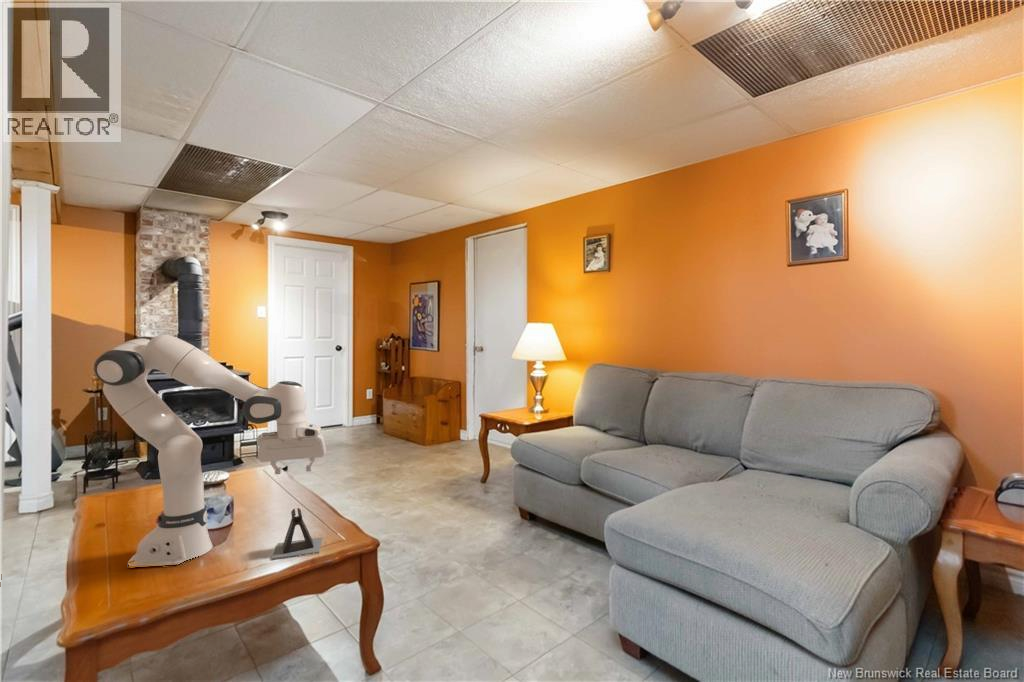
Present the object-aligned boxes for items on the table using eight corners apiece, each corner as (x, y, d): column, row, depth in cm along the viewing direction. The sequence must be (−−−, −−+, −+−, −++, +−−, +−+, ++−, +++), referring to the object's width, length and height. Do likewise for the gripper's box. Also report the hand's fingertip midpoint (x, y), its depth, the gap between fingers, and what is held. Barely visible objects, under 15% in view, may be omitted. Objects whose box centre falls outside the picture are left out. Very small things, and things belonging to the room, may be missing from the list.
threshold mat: (271, 560, 153) (271, 558, 153) (278, 544, 164) (277, 543, 164) (319, 553, 157) (318, 551, 157) (322, 538, 168) (322, 537, 168)
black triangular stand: (283, 554, 156) (281, 517, 156) (282, 546, 161) (281, 510, 161) (313, 547, 160) (311, 511, 159) (312, 540, 165) (310, 505, 165)
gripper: (254, 435, 154) (256, 478, 155) (323, 430, 160) (325, 472, 160) (259, 431, 160) (260, 472, 161) (325, 426, 166) (327, 466, 166)
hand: (293, 472), depth 161 cm, fingers open, 8 cm apart
